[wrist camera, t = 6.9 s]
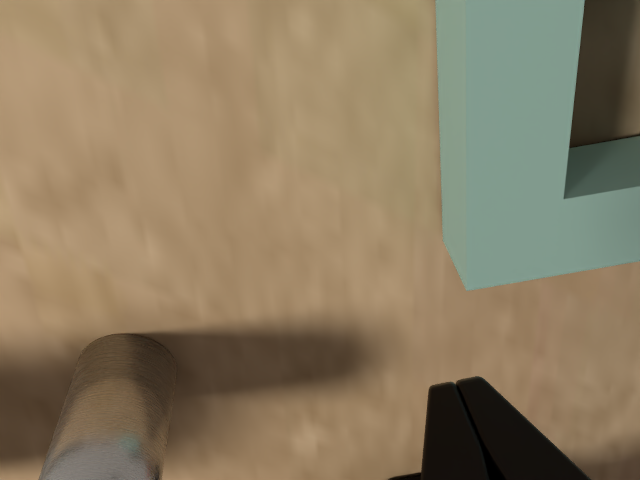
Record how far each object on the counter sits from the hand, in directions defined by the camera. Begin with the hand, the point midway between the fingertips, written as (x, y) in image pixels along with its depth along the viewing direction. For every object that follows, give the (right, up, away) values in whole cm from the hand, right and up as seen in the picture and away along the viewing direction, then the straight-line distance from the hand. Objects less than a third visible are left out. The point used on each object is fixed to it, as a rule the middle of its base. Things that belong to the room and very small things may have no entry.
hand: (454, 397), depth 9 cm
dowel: (-10, -3, +15) cm, 19 cm away
